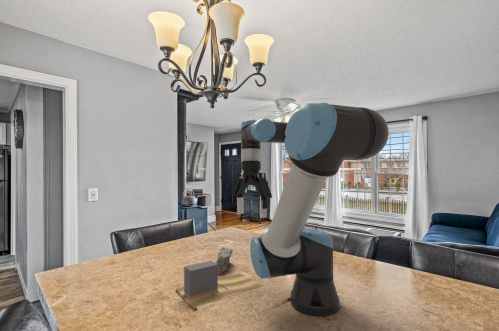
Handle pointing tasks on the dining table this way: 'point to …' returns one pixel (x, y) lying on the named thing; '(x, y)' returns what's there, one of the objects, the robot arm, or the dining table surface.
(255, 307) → the dining table surface
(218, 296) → the board
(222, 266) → the rock
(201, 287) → the block
